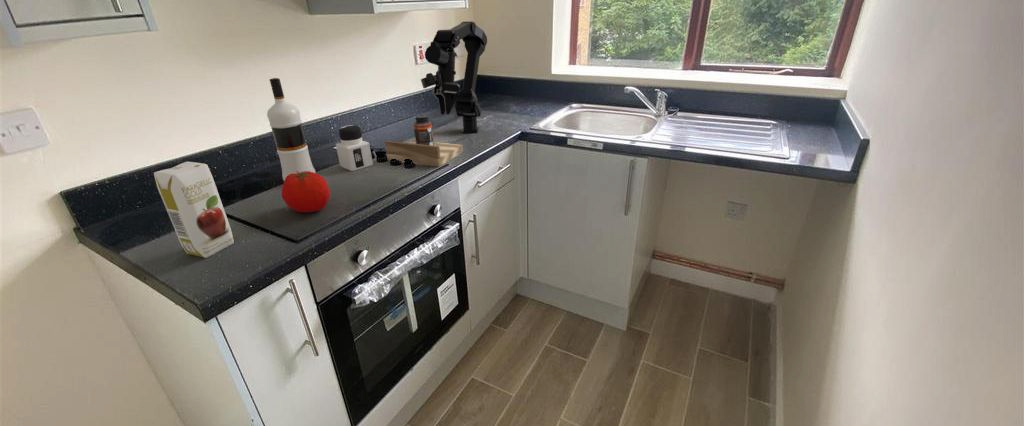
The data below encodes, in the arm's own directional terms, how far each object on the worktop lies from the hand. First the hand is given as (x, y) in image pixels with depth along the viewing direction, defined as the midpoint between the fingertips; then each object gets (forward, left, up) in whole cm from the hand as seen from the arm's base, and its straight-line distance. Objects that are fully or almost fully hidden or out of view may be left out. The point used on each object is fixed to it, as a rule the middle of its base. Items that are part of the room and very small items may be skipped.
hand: (445, 114), depth 156 cm
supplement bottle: (+11, -6, -9) cm, 15 cm away
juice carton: (+73, -40, -12) cm, 84 cm away
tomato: (+53, -27, -12) cm, 60 cm away
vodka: (+32, -40, -12) cm, 52 cm away
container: (+20, -27, -12) cm, 35 cm away
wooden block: (+11, -6, -12) cm, 17 cm away
